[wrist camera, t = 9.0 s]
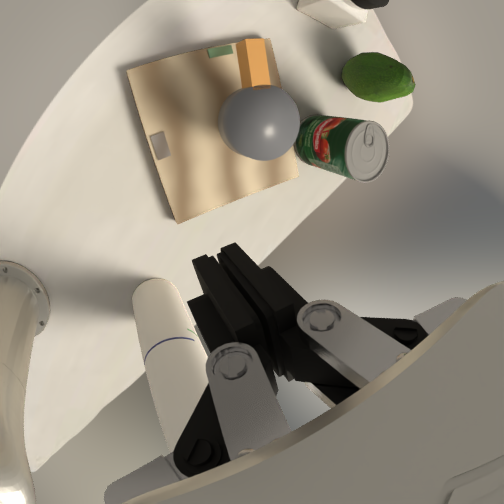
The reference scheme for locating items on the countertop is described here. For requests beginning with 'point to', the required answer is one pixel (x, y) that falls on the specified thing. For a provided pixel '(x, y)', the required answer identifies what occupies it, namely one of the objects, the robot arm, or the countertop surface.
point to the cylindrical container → (169, 355)
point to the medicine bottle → (339, 11)
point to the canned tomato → (343, 146)
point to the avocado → (377, 77)
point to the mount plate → (200, 130)
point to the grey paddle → (258, 109)
